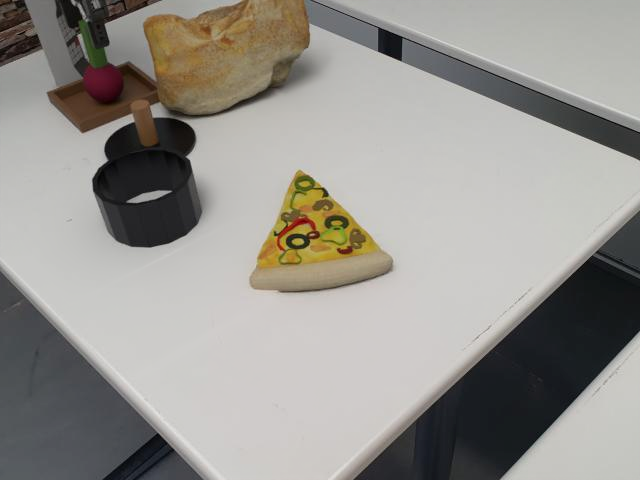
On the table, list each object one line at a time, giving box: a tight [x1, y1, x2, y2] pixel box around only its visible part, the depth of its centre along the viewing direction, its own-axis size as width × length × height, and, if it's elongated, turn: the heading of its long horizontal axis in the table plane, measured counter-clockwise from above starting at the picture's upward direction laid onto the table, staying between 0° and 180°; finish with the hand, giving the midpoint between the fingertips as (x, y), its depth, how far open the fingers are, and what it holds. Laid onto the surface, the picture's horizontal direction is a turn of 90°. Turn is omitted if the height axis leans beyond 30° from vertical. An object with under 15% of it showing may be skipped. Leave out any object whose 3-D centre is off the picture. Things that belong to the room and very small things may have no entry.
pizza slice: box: [249, 169, 394, 292], centre depth 79 cm, size 16×21×3 cm
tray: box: [46, 60, 161, 134], centre depth 101 cm, size 14×12×2 cm
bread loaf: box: [142, 0, 311, 116], centre depth 99 cm, size 23×17×15 cm
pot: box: [91, 147, 203, 249], centre depth 81 cm, size 11×11×6 cm
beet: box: [78, 19, 124, 102], centre depth 98 cm, size 6×6×12 cm
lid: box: [103, 100, 197, 161], centre depth 91 cm, size 12×12×7 cm
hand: (88, 36), depth 95 cm, fingers open, 8 cm apart
